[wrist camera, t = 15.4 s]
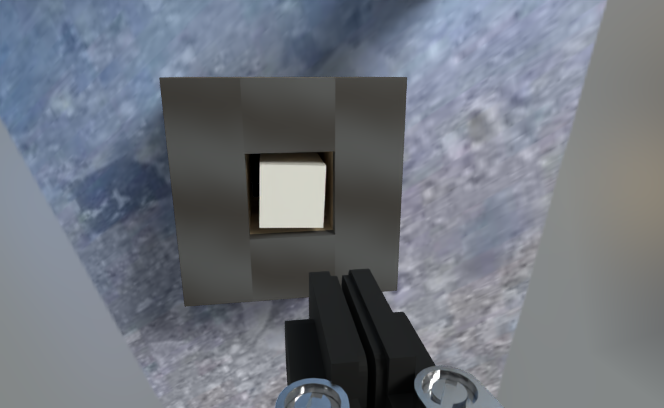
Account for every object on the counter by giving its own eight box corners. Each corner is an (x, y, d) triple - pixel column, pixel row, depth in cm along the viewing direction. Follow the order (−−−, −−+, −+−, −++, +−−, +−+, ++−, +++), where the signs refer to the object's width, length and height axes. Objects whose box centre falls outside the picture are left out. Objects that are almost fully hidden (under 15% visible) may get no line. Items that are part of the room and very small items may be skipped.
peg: (260, 140, 35) (259, 164, 26) (309, 141, 36) (326, 165, 26) (260, 188, 36) (259, 227, 27) (307, 188, 37) (323, 227, 27)
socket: (189, 77, 33) (159, 77, 23) (367, 76, 35) (407, 77, 25) (204, 247, 37) (184, 306, 27) (364, 238, 39) (396, 290, 29)
